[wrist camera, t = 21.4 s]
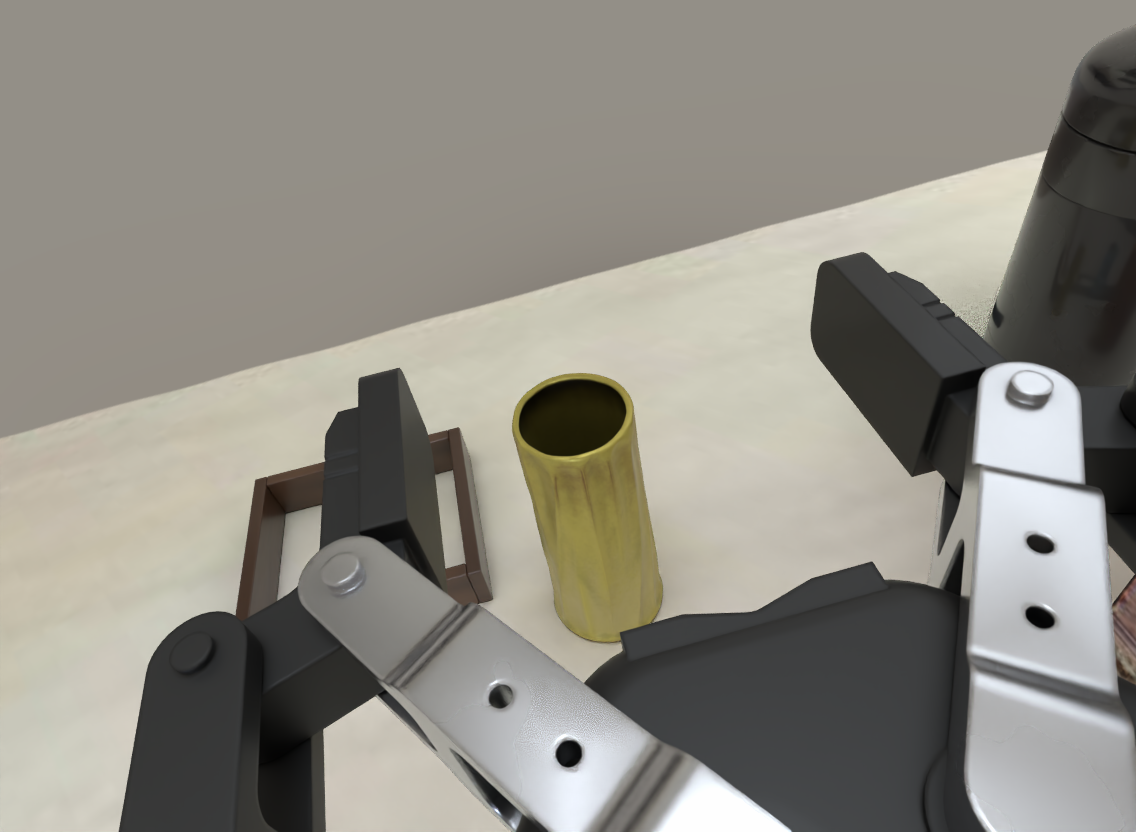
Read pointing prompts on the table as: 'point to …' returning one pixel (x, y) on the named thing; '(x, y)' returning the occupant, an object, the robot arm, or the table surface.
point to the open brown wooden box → (307, 491)
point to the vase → (590, 503)
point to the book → (1125, 632)
